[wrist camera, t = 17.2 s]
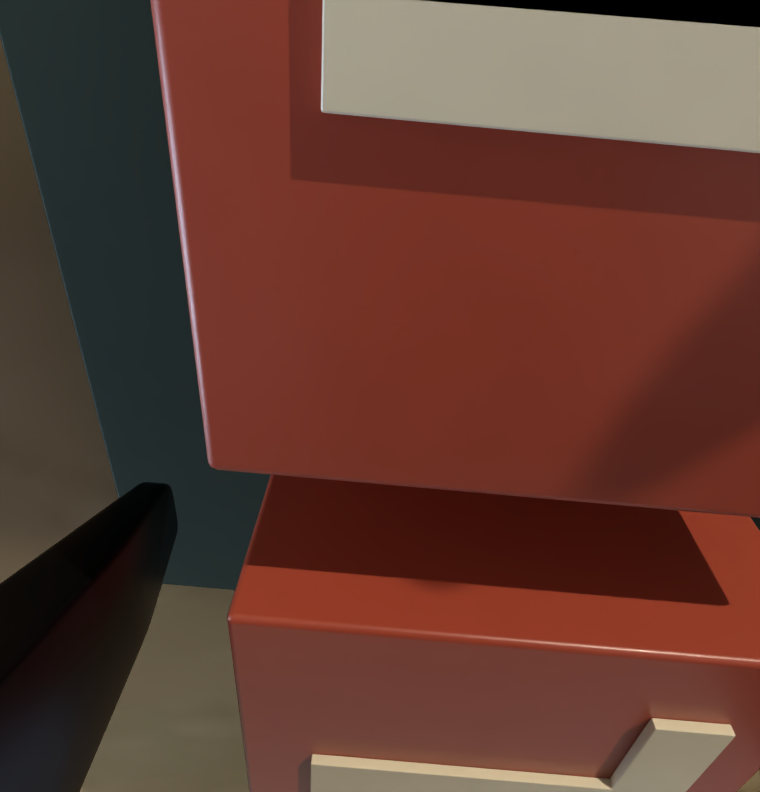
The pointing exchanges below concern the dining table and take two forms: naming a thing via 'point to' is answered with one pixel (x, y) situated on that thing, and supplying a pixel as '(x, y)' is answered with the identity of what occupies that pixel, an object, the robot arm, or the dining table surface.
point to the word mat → (126, 262)
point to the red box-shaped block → (474, 242)
